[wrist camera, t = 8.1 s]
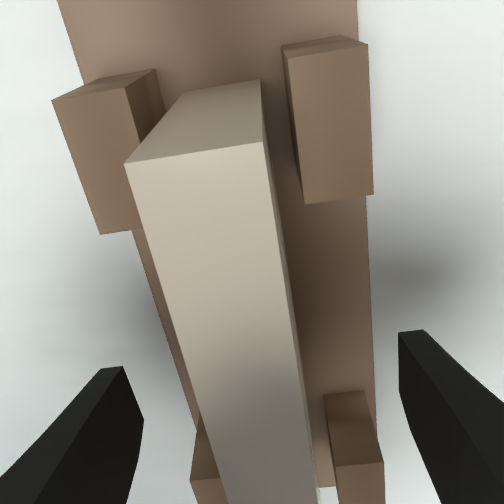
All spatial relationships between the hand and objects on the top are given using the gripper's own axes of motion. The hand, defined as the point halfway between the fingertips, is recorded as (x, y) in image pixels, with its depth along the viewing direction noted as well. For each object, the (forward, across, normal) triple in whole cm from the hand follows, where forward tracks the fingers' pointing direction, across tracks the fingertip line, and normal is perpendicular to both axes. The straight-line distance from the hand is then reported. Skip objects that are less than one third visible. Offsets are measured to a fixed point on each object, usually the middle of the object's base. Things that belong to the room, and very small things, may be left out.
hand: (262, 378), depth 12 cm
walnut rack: (+4, 0, 0) cm, 4 cm away
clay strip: (+3, 0, 0) cm, 3 cm away
